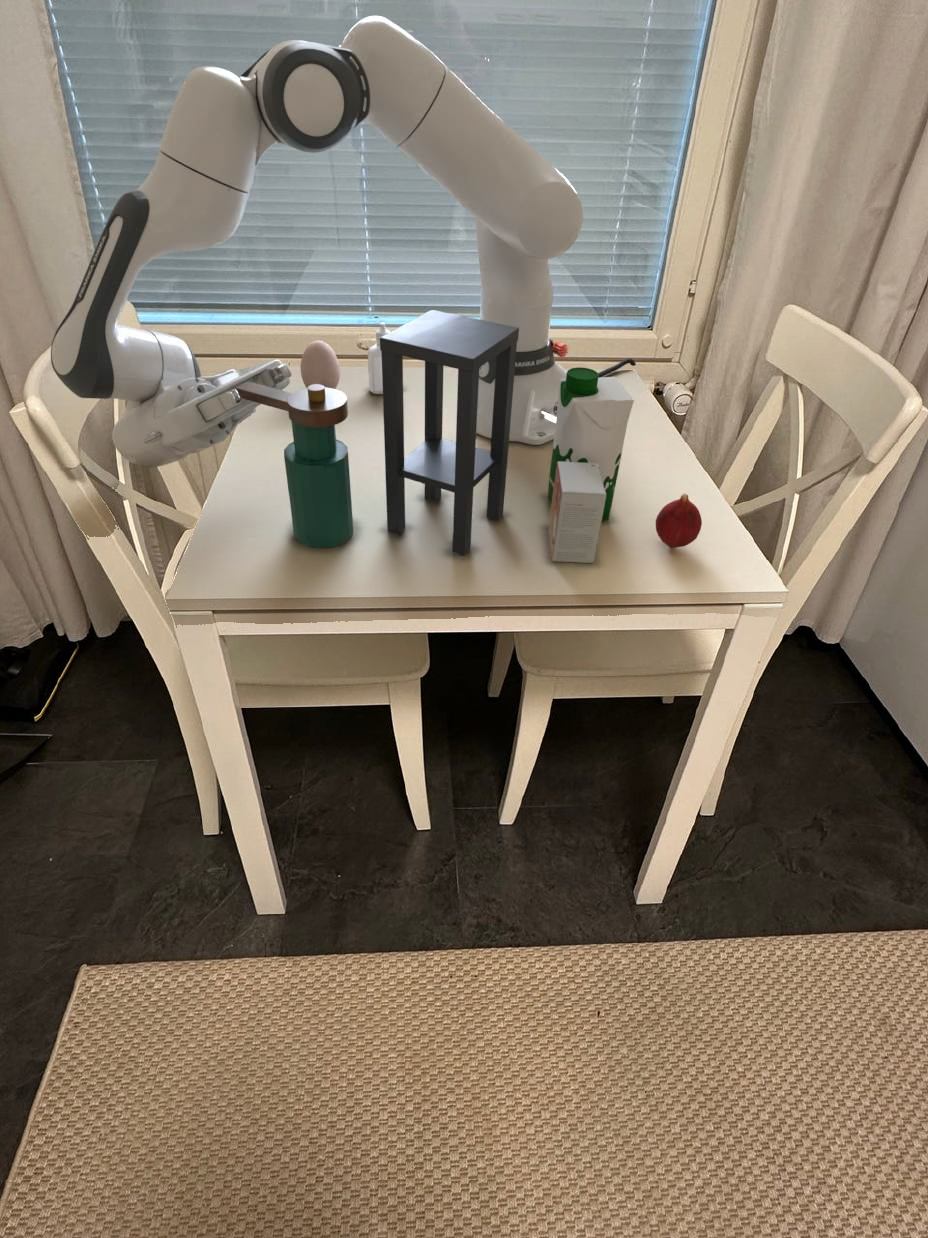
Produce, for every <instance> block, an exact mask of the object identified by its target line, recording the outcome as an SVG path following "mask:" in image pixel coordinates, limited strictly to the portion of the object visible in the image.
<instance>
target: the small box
mask: <svg viewBox="0 0 928 1238" xmlns="http://www.w3.org/2000/svg"><path fill="white" fill-rule="evenodd" d="M605 500H606V492H605V489H604V485H603V480H602V476H601V471H600V464H598V463H580V462H560V461H558V462H557V467H556V475H555V482H554V489H553V496H552V504H551V503H550V512H549V517H548V518H549V519H548V527H547V529H548V535H549V546H550V553H551V555H550V556H551V562H560V563H561V562H562V563H564V562H565V563H581V564H594V562H595V558H596V551H597V547H598V541H599V536H600V531H601V526H602V521H603V520H602V516H603V510H604V505H605Z"/></svg>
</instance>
